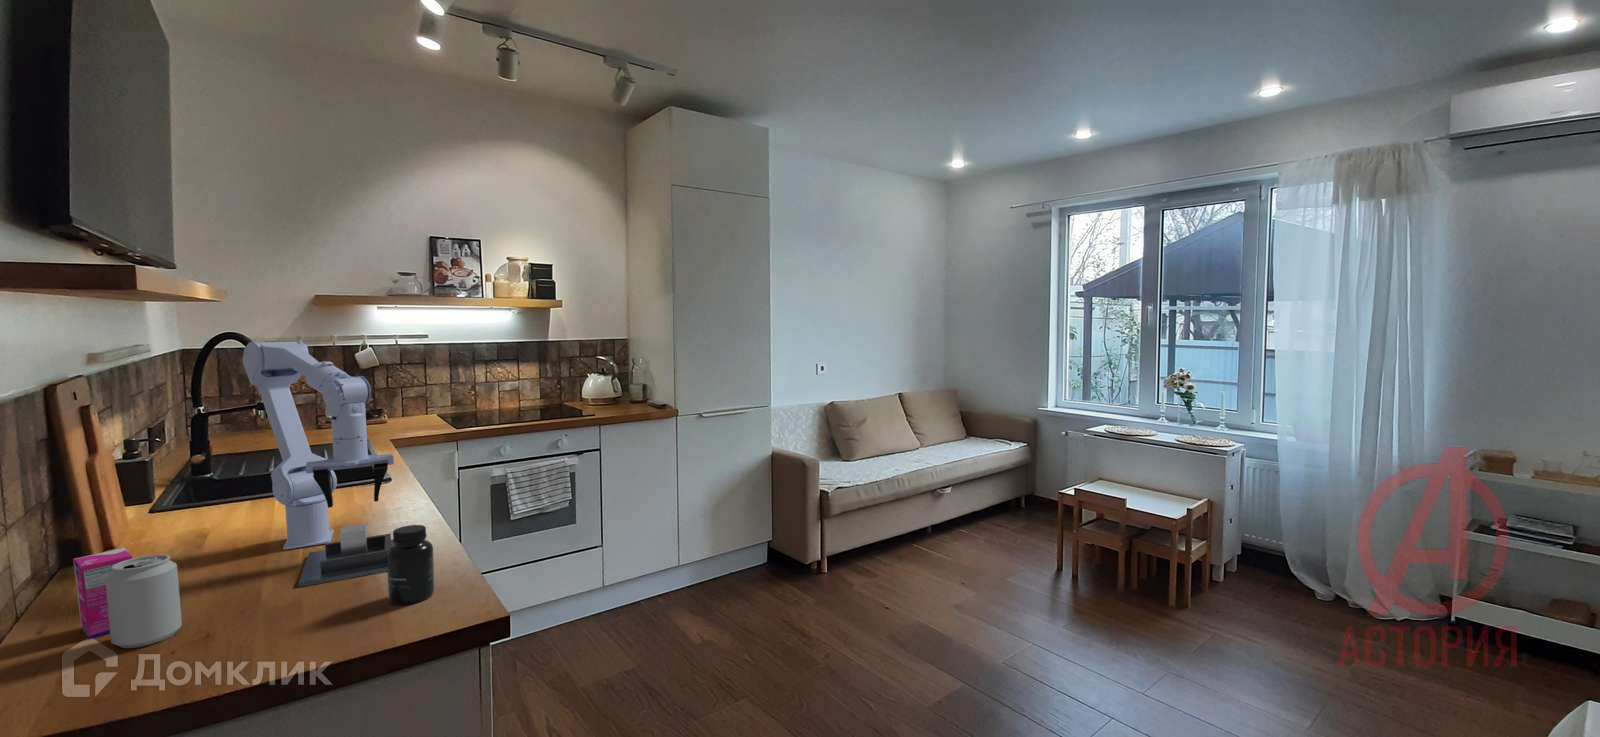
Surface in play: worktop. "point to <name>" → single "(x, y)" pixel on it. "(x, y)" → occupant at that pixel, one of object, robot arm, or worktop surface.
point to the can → (143, 601)
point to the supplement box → (95, 589)
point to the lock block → (353, 540)
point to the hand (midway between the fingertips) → (353, 503)
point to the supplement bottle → (410, 566)
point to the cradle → (346, 562)
